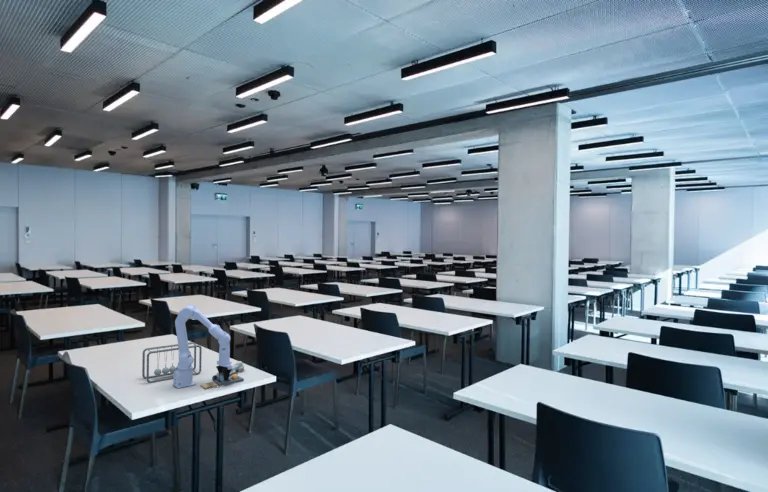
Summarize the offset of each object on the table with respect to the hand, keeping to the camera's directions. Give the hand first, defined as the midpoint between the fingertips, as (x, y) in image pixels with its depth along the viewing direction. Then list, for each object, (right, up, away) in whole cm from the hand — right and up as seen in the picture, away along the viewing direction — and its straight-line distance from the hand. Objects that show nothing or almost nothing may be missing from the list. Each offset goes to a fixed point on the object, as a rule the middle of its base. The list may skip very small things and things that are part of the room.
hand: (224, 379), depth 252 cm
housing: (+2, -2, +2) cm, 4 cm away
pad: (-6, -2, -6) cm, 9 cm away
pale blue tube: (-2, -3, +14) cm, 15 cm away
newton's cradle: (-34, -2, +10) cm, 36 cm away
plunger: (+5, -2, +5) cm, 7 cm away
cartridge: (0, -2, 0) cm, 2 cm away
